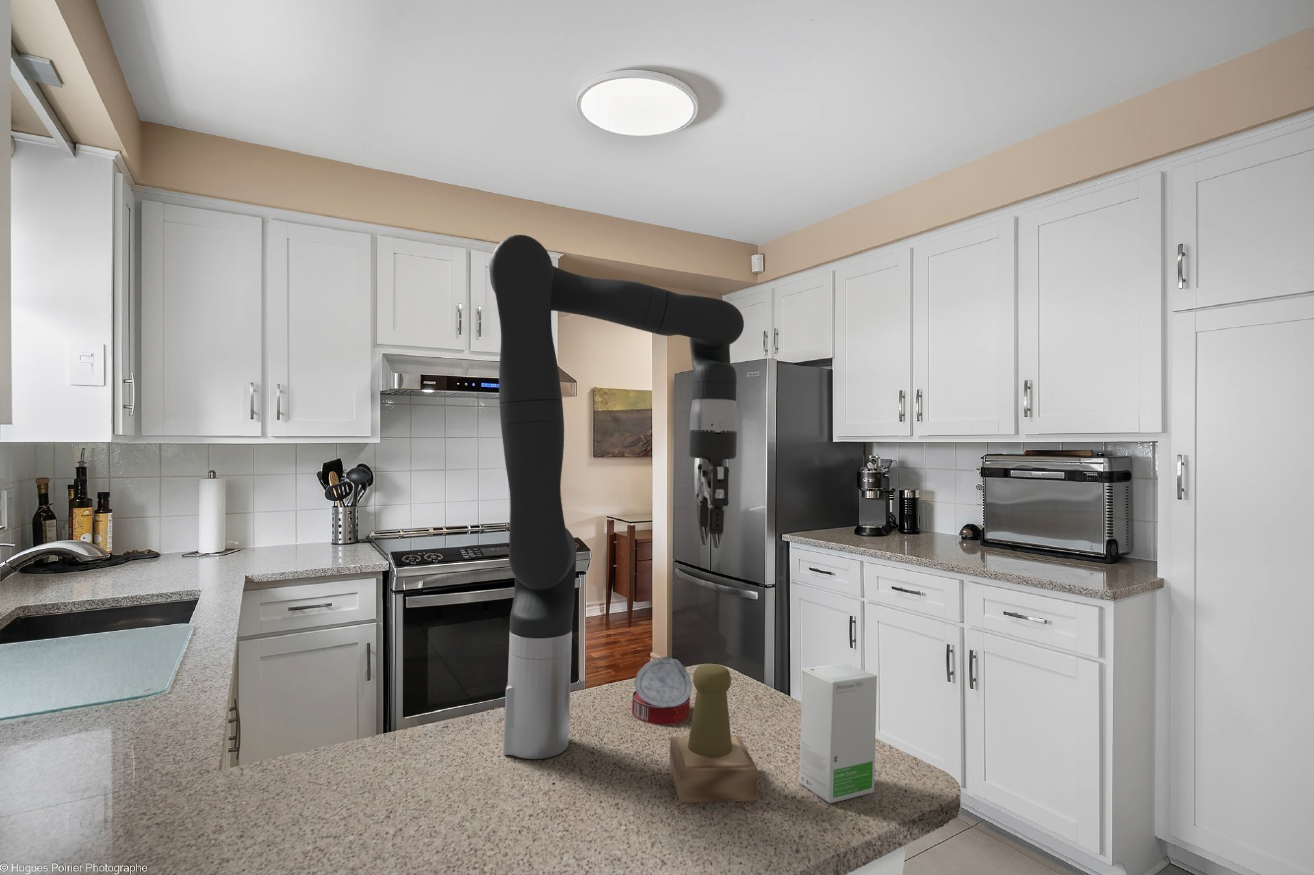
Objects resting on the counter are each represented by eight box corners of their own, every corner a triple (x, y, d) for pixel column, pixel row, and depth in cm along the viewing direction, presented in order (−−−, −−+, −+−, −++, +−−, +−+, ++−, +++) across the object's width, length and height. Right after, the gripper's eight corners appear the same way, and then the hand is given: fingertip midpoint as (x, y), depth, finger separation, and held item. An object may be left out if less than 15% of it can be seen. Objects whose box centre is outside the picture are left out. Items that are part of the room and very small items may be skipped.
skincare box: (828, 806, 85) (832, 683, 85) (795, 782, 91) (798, 667, 91) (877, 792, 89) (880, 674, 89) (842, 770, 95) (844, 660, 95)
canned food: (686, 736, 116) (714, 690, 114) (654, 750, 107) (684, 700, 106) (642, 691, 122) (668, 647, 120) (609, 701, 114) (636, 653, 112)
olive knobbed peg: (730, 759, 88) (732, 675, 88) (684, 754, 89) (687, 671, 89) (734, 740, 94) (736, 661, 94) (691, 735, 95) (693, 657, 95)
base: (679, 802, 85) (680, 769, 85) (669, 765, 95) (670, 735, 95) (756, 800, 86) (757, 767, 86) (738, 764, 96) (739, 734, 96)
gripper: (683, 429, 114) (681, 524, 113) (697, 426, 99) (694, 536, 99) (727, 430, 114) (724, 525, 114) (746, 428, 100) (743, 536, 100)
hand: (710, 530), depth 107 cm, fingers open, 8 cm apart
